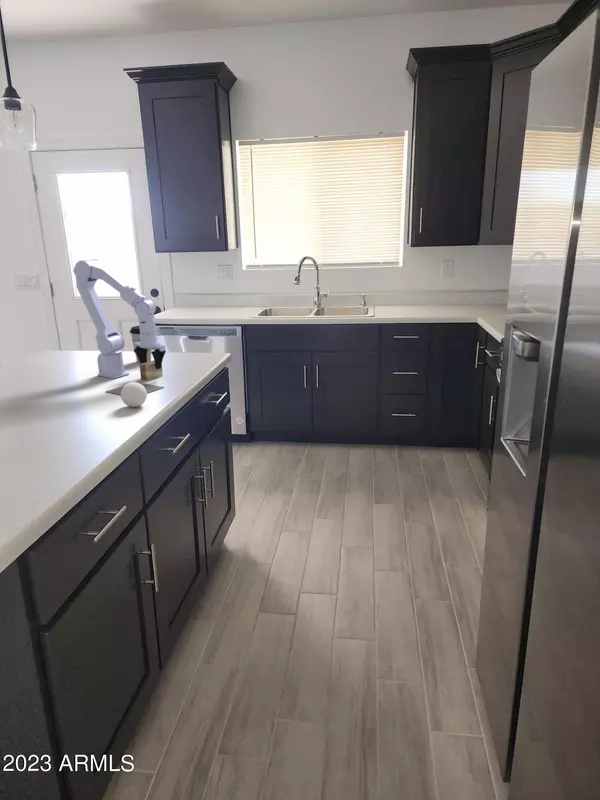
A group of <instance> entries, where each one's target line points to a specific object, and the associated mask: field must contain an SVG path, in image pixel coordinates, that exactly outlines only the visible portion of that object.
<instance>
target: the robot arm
mask: <svg viewBox="0 0 600 800" xmlns="http://www.w3.org/2000/svg"><path fill="white" fill-rule="evenodd" d="M72 272H73V274H74V275H75V281H76V289H77V291H78V294H79V295H80V297H81V300H82V301H83V303H84V306H85V308H86V309H87V312H88V314H89V317H90V319H91V320H92V322H93V325H94V327H95V328H96V336H95V340H96V342H97V346H96V347H97V349H98V350H99V352H100V353H98V356H97V361H96V362H97V367H98V373H97V374H96V376H97V377H103V378H107V379H108V378H109V379H117V378H120V377H124V376H128V375H130V372H126V371H125V366H124V358H123V348H124V347H125V338H124V337H123V336H122V335H121V334H120V333H119V331H118V329H116V328H115V327H113V326H112V324H111V323H110V320H109V317H108V315H107V313H106V311H105V309H104V307H103V305H102V302H101V301H100V299H99V296H98V294H97V291H96V290H95V284H96V282H97V281H98V280H101V281H103V282H105V283H106V284H108V285H109V286H110V287H112V288H113V289H114V290H115V291H117V292H118V293H119V296H120V299H122V300H123V301H124V302H125V303H126V304H128V305H129V306H130V307H132V308H133V311H134V313H135V314H136V316H137V319H138V326H139V328H140V338H141V342H134V346H133V353H135V354H134V355H135V356H136V355H137V357H138V359H139V361H140V363H139V364H142V363H146V362H147V350H148V349H152V350H153V351H152V350H151V356H152V357H153V358H152V359H153V360H154V361H155V367H156V369H161V366H162V367H163V360H164V357H165V355H166V353H167V351H166V345H164V344H160V343H159V342H158V341H157V332H156V320H155V319H156V318H155V312H156V310H157V305H156V303H155V301H154V300H153V299H151V298H147V297H146V296H145V295H142V294H141V292H139V291H138V290H137V288H136V287H135V286H132V285H126V284H125V283H123V281H122V280H120V279H119V278H118V277H117V276H116V275H115V274H114V273H113V272H112V271H111V270H109V268H108V266H107V265H106V264H104V263H103V262H102V261H101V260H99V259H98V258H97V259H95V258H93V259H90V260H89V259H88V260H87V259H86V260H82V259H81V260H78V261H77V262H76V263H75V266H74V267H73V271H72ZM134 348H136V349H134Z"/></svg>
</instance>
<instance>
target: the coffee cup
mask: <svg viewBox="0 0 600 800" xmlns="http://www.w3.org/2000/svg"><path fill="white" fill-rule="evenodd" d="M129 333H130V334H131V341H132V345H133V350H134V349H136V348H134V342H141V338H140V328H139V325H134V326H132V327H130V330H129ZM151 352H152V349H148V350H147V362H150V361H152V353H151ZM135 359H136V362H137V363H138V364H140V361H139V359H138V357H137V355H136V354H135Z"/></svg>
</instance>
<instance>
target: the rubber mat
mask: <svg viewBox="0 0 600 800" xmlns="http://www.w3.org/2000/svg"><path fill="white" fill-rule="evenodd" d="M135 382H136V383H139V384H141V385H143V386H144V388H145V389H146V392H147V395H148V394H150V393H153V392H157V391H159V390H162V389H164V388H165V387H164V386H159V385H156V384H155V385H154V384H150V383H144V382H139V381H135ZM125 385H126V384H125ZM125 385H121V386H118V387H116V388H112V389H109V390H106V391H105V393H107V394H108V393H109V394H112V395H117V396H121V391H122V389H123V387H124V386H125ZM161 388H162V389H161Z"/></svg>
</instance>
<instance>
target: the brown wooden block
mask: <svg viewBox="0 0 600 800" xmlns="http://www.w3.org/2000/svg"><path fill="white" fill-rule="evenodd" d="M138 364H139V372H140V380H141V381H152V380H154V379H157V378H161V377H163V376H164V374H163V373H164V372H163V365H162V366H161V369H156V367H155V361H154V359H153V360H151V361H150V362H146V363H142V364H140V363H138ZM160 376H161V377H160Z"/></svg>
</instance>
